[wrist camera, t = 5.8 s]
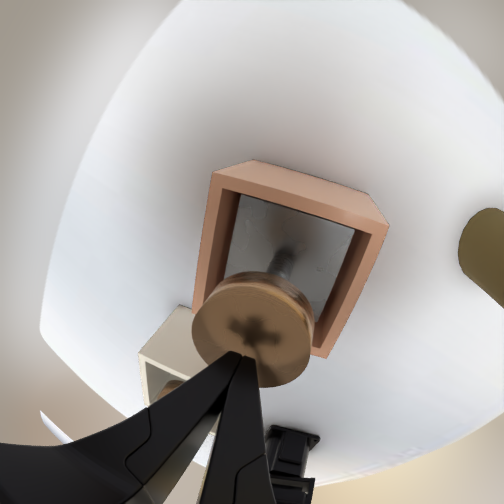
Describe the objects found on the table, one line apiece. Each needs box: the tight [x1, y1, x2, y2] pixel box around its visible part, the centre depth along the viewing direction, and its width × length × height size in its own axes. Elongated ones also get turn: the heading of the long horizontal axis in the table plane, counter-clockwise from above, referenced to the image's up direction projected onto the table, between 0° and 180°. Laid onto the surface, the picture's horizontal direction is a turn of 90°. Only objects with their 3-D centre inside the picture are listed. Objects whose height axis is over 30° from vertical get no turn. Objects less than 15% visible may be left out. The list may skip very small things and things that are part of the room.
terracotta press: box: [191, 160, 389, 359], centre depth 16 cm, size 8×8×7 cm
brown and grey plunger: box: [191, 194, 355, 388], centre depth 12 cm, size 6×6×7 cm
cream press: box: [138, 305, 221, 436], centre depth 23 cm, size 8×8×7 cm
